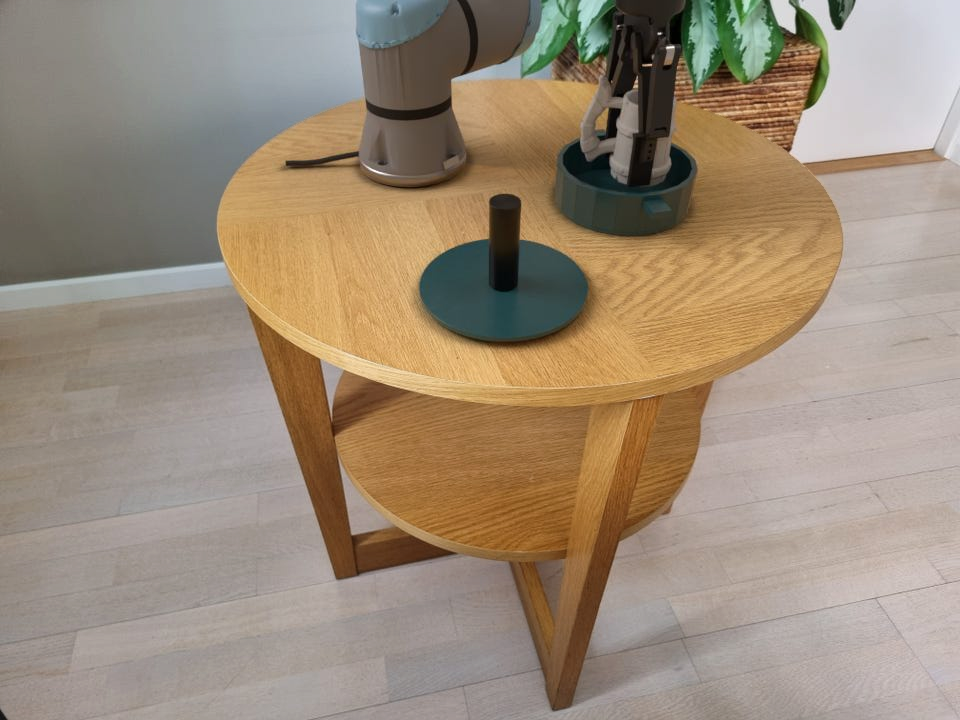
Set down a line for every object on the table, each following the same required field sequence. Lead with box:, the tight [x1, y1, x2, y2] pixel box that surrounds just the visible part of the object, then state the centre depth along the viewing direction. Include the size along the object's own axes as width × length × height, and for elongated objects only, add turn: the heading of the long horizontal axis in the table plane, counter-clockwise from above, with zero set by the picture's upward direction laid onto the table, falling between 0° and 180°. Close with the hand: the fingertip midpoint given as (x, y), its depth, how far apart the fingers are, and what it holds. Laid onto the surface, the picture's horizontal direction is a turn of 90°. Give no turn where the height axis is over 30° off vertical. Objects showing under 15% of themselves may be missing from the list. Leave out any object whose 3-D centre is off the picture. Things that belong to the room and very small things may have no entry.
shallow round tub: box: [554, 128, 699, 237], centre depth 90 cm, size 17×23×6 cm
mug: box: [579, 74, 678, 187], centre depth 86 cm, size 8×12×12 cm, turn 78°
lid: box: [418, 193, 589, 343], centre depth 73 cm, size 18×18×11 cm
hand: (625, 169), depth 89 cm, fingers closed on mug, 8 cm apart
